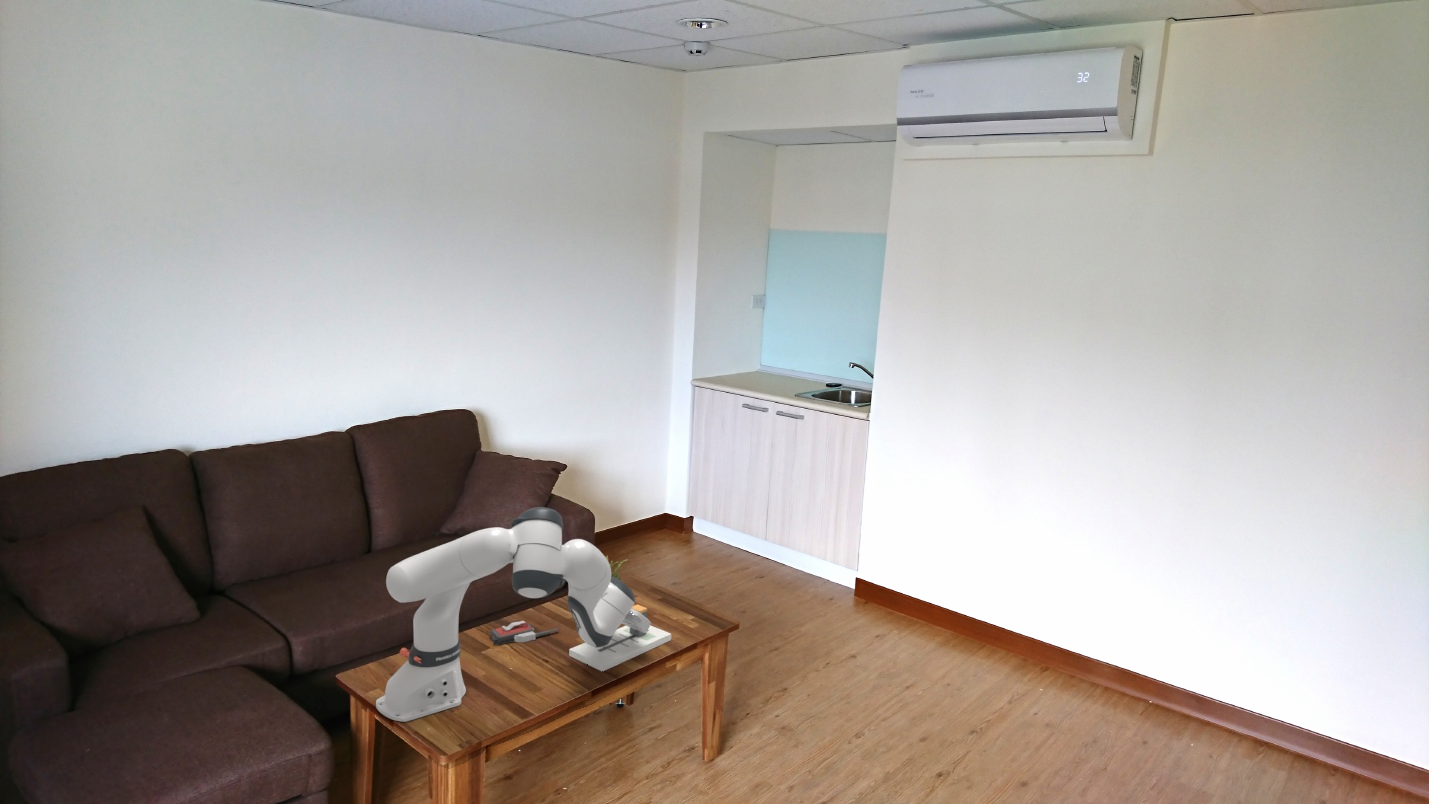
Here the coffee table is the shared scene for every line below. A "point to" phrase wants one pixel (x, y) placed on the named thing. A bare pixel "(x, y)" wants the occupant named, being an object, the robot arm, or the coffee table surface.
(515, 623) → the red and grey tool
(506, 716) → the coffee table surface
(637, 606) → the fader knob
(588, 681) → the coffee table surface
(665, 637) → the console
